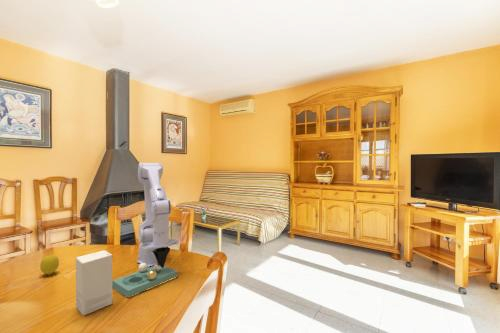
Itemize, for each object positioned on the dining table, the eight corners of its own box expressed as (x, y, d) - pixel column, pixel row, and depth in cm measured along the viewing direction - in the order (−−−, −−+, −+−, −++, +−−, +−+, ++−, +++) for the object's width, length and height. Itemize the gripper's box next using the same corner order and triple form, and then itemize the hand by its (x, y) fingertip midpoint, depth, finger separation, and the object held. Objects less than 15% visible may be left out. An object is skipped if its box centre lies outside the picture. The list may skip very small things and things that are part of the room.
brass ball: (143, 278, 87) (146, 268, 88) (151, 278, 89) (154, 269, 90) (148, 281, 85) (151, 271, 86) (156, 281, 87) (159, 271, 88)
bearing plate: (160, 269, 101) (161, 263, 101) (177, 277, 95) (177, 271, 95) (112, 287, 86) (112, 280, 86) (128, 298, 80) (128, 290, 80)
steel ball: (156, 271, 95) (149, 270, 93) (159, 262, 96) (153, 261, 94) (161, 274, 94) (155, 273, 91) (165, 265, 95) (159, 264, 92)
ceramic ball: (136, 271, 93) (136, 263, 93) (144, 268, 96) (144, 260, 96) (141, 274, 92) (141, 265, 91) (149, 271, 94) (149, 262, 94)
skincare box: (105, 297, 80) (105, 249, 80) (113, 304, 76) (114, 254, 76) (74, 308, 74) (74, 256, 74) (82, 317, 70) (82, 262, 69)
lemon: (48, 278, 92) (48, 257, 92) (36, 277, 93) (36, 255, 93) (62, 272, 97) (62, 252, 97) (50, 270, 98) (51, 250, 98)
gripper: (149, 237, 86) (149, 276, 86) (183, 229, 98) (183, 263, 98) (138, 234, 91) (138, 271, 91) (172, 226, 102) (172, 259, 102)
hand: (160, 267), depth 94 cm, fingers closed, pressing on steel ball
